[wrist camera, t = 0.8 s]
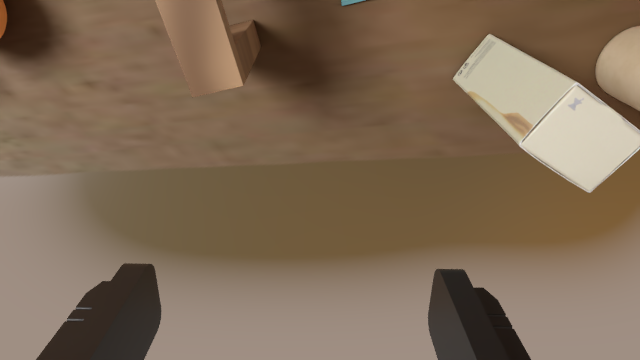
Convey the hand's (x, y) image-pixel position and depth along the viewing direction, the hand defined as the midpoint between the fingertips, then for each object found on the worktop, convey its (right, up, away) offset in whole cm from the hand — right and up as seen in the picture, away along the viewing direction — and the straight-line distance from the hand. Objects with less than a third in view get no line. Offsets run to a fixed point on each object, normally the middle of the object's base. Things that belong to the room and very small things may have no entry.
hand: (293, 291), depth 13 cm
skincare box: (+15, +11, +22) cm, 29 cm away
